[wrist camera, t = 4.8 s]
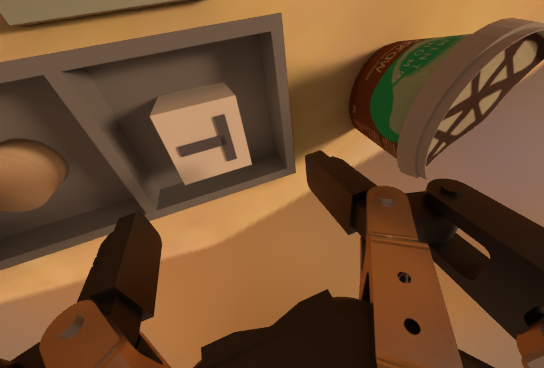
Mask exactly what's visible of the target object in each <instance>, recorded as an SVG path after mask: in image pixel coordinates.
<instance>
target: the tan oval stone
mask: <svg viewBox="0 0 544 368" xmlns="http://www.w3.org/2000/svg"><path fill="white" fill-rule="evenodd" d="M68 172H69V167H68V164H67V162H66V160H65V159H64V157H63V156H62V155H61V154H60V153H59V152H57V151H56V150H55V149H53V148H51V147H50V146H48V145H45V144H43V143H40V142H38V141H34V140H29V139H18V138H17V139H8V140H5V141H2V142H0V210H1V211H9V212H22V211H29V210H33V209H36V208H38V207H40V206H42V205H43V204H45V203H46V202H47V200H48V199H49V198H50V197H51V196H52V194H53V193H54V192H55V191H56V190H57V188H58V187H59V186H60V185H61V184H62V182H63V181H64V180H65V179H66V177H67V176H68Z"/></svg>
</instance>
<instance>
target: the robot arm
mask: <svg viewBox="0 0 544 368" xmlns="http://www.w3.org/2000/svg"><path fill="white" fill-rule="evenodd" d="M305 163H306V175H307V182H308V185H309V188H310V190H311V191H312V192H313V193H314V194H315V196H316V197H317V198H318V199H319V201H320V202H321V203H322V204H323V205H324V206H325V208H326V209H327V210H328V211H329V212H330V214H331V215H332V216H333V217H334V218H335V219H336V220H337V222H338V223H339V224H340V225H341V227H342V228H343V229H344V230H345V231H346V233H347V234H348V235H350V234H352V233H355V232H358V233H359V234H360V235H361V237H360V287H359V288H360V289H359V299H355V298H350V297H332V296H331V294H330V293H329V291H328V289H327V290H325V291H323V292H320V293H318V294H316V295H314V296H312V297H310V298H307V299H305V300H303V301H301V302H299V303H298V304H297V305H295V306H294V307H293V308H292V309H291V310H290V311H288V312H287V313H286V314H285V315H284V316H283V317H281V318H280V319H279V320H278V321H277V322H276V323H275V324H273V325H272V326H270V327H265V328H259V329H252V330H246V331H239V332H234V333H232V334H230V335H227V336H225V337H223V338H221V339H219V340H217V341H214V342H212V343H210V344H208V345H206V346H204V347H201V353H202V354H201V355H202V360H201V361H200V362H198V363H197V364H196V365H195V366H194V367H193V368H494V367H492V366H490V365H488V364H487V363H484V362H483V361H481V360H479V359H477V358H475V357H473V356H471V355H469V354H467V353H465V352H463V351H461V350H460V349H458V347H457V344H456V340H455V337H454V333H453V329H452V326H451V322H450V319H449V315H448V312H447V308H446V305H445V302H444V298H443V294H442V291H441V287H440V284H439V281H438V277H437V273H436V270H435V266H434V262H435V263H436V264H437V265H438V266H439V267H440V268H441V269H442V270H444V272H446V273H447V274H448V275H449V276H450V277H451V278H452V279H453V280H454V281H455V282H456V283H457V284H458V285H459V286H460V287H461V288H462V289H463V290H464V291H465V292H466V293H467V294H468V295H469V296H471V297H472V298H473V299H474V300H475V301H476V302H477V303H478V304H479V305H480V306H481V307H482V308H483V309H484V310H485V311H486V312H487V313H488V314H489V315H490V316H491V317H492V318H493V319H494V320H496V322H498V323H499V324H500V325H501V326H502V327H503V328H504V329H505V330H506V331H507V332H508V333H509V334H510V335H511V336H512V337H513V338H514V339H515V340H516V343H517V347H518V350H519V352H520V354H521V356H522V360H521V361H522V364H523V366H524V368H544V227H542V226H540V225H538V224H536V223H535V222H533V221H531V220H529V219H528V218H526V217H524V216H522V215H520V214H518V213H517V212H515V211H513V210H511V209H509V208H508V207H506V206H504V205H502V204H500V203H498V202H497V201H495V200H493V199H491V198H490V197H488V196H486V195H484V194H482V193H481V192H479V191H477V190H475V189H473V188H472V187H470V186H468V185H466V184H464V183H462V182H459V181H456V180H451V179H435V180H432V181H431V182H429V183H428V185H427V188H426V191H422V192H414V193H404V192H402V191H401V190H399V189H397V188H394V187H390V186H377V185H375V184H374V183H373V182H371V181H370V180H369V179H367V178H366V177H365V176H363V175H362V174H361V173H359V172H358V171H356V170H355V169H354V168H353V167H352V166H350V165H349V164H348V163H346V162H345V161H344V160H342V159H339V158H336V157H333V156H332V157H329V156H327V155H326V154H325V153H324V152H322V151H321V150H319V151H316V152H313V153H310V154H308V155H306V156H305ZM458 228H460V229H461V230H462V231H464V232H465V233H466V234H468V235H469V236H470V237H472V238H473V239H475V240H476V241H477V242H479V243H480V244H481V245H483V246H484V247H485V248H486V249H487V251H488V252H489V254H490V259H489V258H488V257H487V256H485V255H484V254H483V253H481V252H480V251H479V250H477V249H476V248H475V247H473V246H472V245H471V244H470V243H468V242H467V241H466V240H464V239H463V238H462V237H460V236H459V235H458V234H457V233H456V231H457V229H458ZM161 249H162V241H161V238H160V235H159V233H158V232H157V231H156V230H155V228H154V227H153V226H152V224H151V223H150V222H149V221H148V219H147V218H146V217H145V216H144V214H143V213H142V212H140V211H137V212H134V213H131V214H128V215H125V216H123V217H120V218H119V219H118V221H117V223H116V226H115V229H114V231H113V232H111V233H110V234H109V235H108V236H107V237H106V239H105V240H104V241H103V242H102V244H101V246H100V248H99V250H98V253H97V257H96V258H95V260H94V262H93V267H91V270H90V272H89V274H88V277H87V279H86V282H85V284H84V287H83V289H82V292H81V294H80V296H79V298H78V301H77V303H75V304H73V305H71V306H70V307H68V308H67V309H66V310H64V311H63V312H62V313H61V314H59V315H58V316H57V317H56V318H55V319H54V320H53V321H52V323H51V324H50V325H49V326H48V328H47V329H46V331H45V333H44V334H43V336H42V338H41V341H40V342H39V343H37V344H36V345H34V346H33V347H31V348H30V349H28V350H27V351H25V352H24V353H22V354H21V355H19V356H17V357H16V358H15V359H13V360H11V361H8V360H4V359H1V358H0V368H171V367H170V365H169V364H168V363H167V362H166V361H165V360H164V358H163V357H162V356H161V355H160V353H159V352H158V351H157V350H156V349H155V347H154V346H153V345H152V344H151V343H150V341H149V340H148V339H147V338H146V336H145V335H144V334H143V333H142V332H141V331H140V324H141V322H142V321H144V320H147V319H149V318H151V317H153V316H154V309H155V300H156V292H157V283H158V274H159V266H160V257H161ZM433 261H434V262H433Z"/></svg>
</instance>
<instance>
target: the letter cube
mask: <svg viewBox="0 0 544 368" xmlns="http://www.w3.org/2000/svg"><path fill="white" fill-rule="evenodd" d="M150 118H151V120H152V122H153V124H154V126H155V128H156V130H157V132H158V134H159V136H160V137H161V139H162V141H163V143H164V145H165V147H166V149H167V151H168V153H169V155H170V157H171V159H172V161H173V163H174V165H175V167H176V169H177V171H178V172H179V174H180V176H181V178H182V180H183V182H184V184H185V185H187V184H190V183H194V182H197V181H200V180H203V179H207V178H210V177H213V176H216V175H219V174H223V173H226V172H229V171H232V170H236V169H239V168H242V167H245V166H249V165H252V162H251V158H250V154H249V150H248V146H247V141H246V137H245V133H244V129H243V125H242V121H241V117H240V112H239V108H238V104H237V100H236V96H235V94H234V93H233V92H232V91H231V90H230V89H229V88H228V87H227V85H226V84H225V83H224V82H220V83H216V84H211V85H207V86H202V87H198V88H194V89H189V90H185V91H181V92H176V93H172V94H168V95H163V96H159V97H158V98H157V100H156V102H155V105H154V107H153V109H152V112H151V114H150Z"/></svg>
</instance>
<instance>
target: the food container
mask: <svg viewBox="0 0 544 368" xmlns="http://www.w3.org/2000/svg"><path fill="white" fill-rule="evenodd" d="M543 59H544V23H540V22H534V21H528V20H522V19H515V18H508V19H501V20H498V21H496V22H493V23H491V24H488V25H486V26H485V27H483V28H481V29H480V30H478V31H476V32H475V33H473V34H466V35H457V36H447V37H437V38H427V39H418V40H408V41H398V42H395V43H392V44H389V45H386V46H384V47H383V48H381V49H380V50H379V51H377V52H376V53H374V54H373V56H372V57H371V58H370V59H369V60H368V61H367V62H366V63H365V65H364V66H363V67H362V69H361V71H360V72H359V74H358V76H357V78H356V80H355V82H354V85H353V88H352V91H351V96H350V103H349V112H350V118H351V121H352V123H353V125H354V127H355V128H356V129H357V130H359V131H360V132H361V133H363V134H364V135H365V136H367V137H368V138H369V139H371V140H372V141H373V142H375V143H376V144H377V145H379V146H380V147H381V148H383V149H384V150H385V151H387V152H388V153H390V154H391V155H392V156H394V157H395V158H396V159H397V162H398V166H399V169H400V171H401V172H402V173H405V174H407V175H410V176H413V177H416V178H418V177H419V176H420V177H422V178H424V179H426V180H428V178H427V175H426V166H427V165H428V164H429V163H430V162H431V161H432V160H433V159H434V158H435V157H436V156H437V155H438V154H439V153H441V152H442V151H443V150H444V149H445V148H446V147H447V146H448V145H450V144H451V143H453V142H454V141H456V140H457V139H458V138H460V137H461V136H463V135H464V134H466V133H467V132H468V131H470V130H471V129H473V128H474V127H475V126H476V125H478V124H479V123H480V122H482V121H483V120H484V119H485V118H486V117H487V116H488V115H489V114H490V112H492V110H493V109H494V108H495V107H496V105H497V104H498V103H499V102H500V101H501V99H502V98H503V97H504V96H505V95H506V94H507V93H508V92H509V91H510V90H511V88H512V87H513V86H514V85H516V84H517V83H518V82H519V81H520V80H521V79H522V78H523V77H524V76H525V75H526V74H528V73H529V72H530V71H531V70H532V69H533V68H534V67H535V66H536V65H537V64H539V63H540V62H541V61H542V60H543Z"/></svg>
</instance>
